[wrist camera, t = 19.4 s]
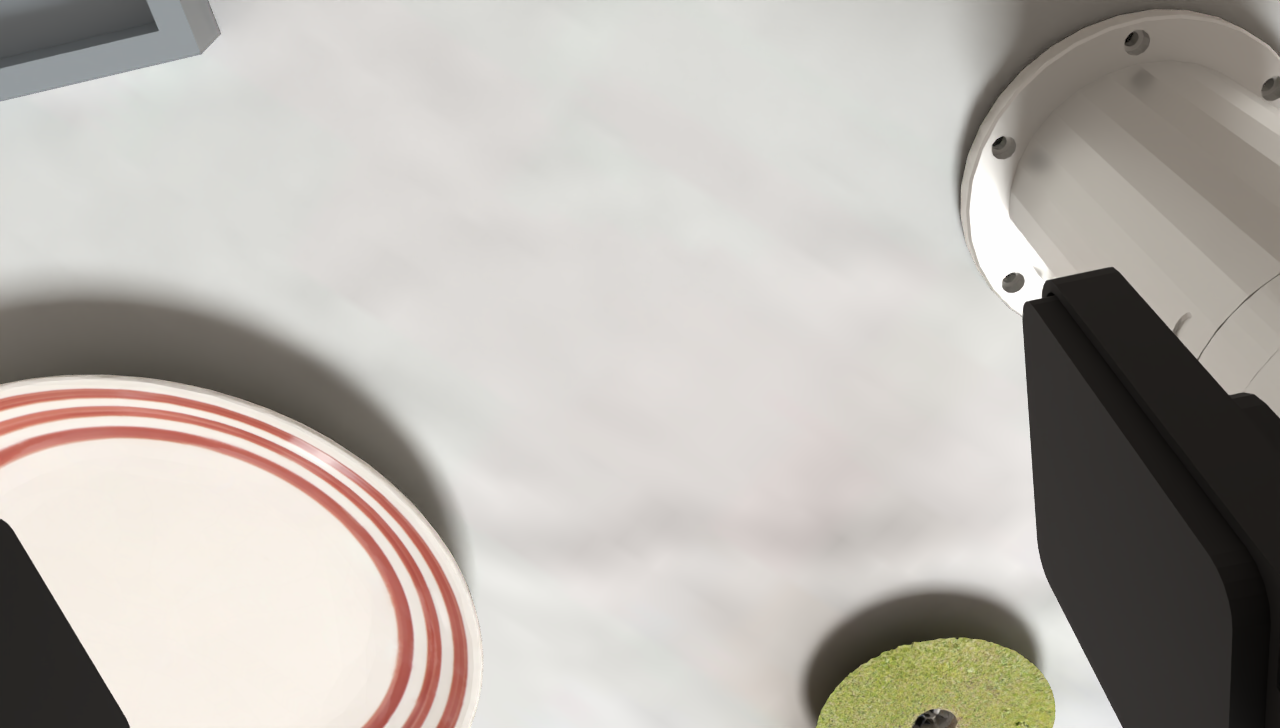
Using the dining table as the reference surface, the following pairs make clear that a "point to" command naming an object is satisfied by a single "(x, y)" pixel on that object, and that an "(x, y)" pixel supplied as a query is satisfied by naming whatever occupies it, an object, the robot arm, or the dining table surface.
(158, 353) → the dining table surface
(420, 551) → the dinner plate
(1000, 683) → the mat
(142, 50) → the grey square tray
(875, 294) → the dining table surface
